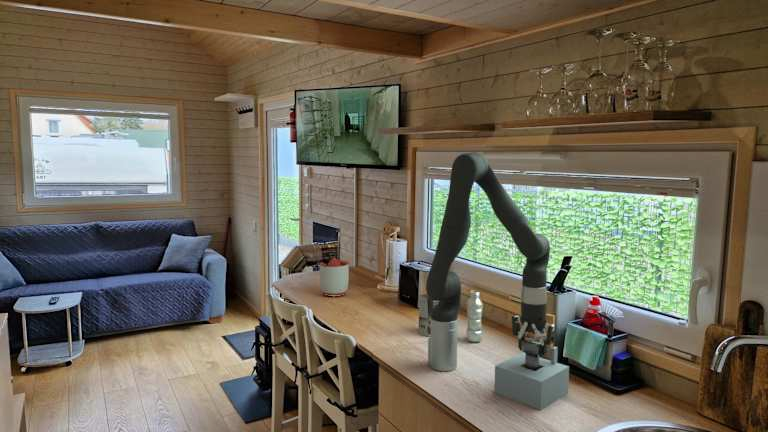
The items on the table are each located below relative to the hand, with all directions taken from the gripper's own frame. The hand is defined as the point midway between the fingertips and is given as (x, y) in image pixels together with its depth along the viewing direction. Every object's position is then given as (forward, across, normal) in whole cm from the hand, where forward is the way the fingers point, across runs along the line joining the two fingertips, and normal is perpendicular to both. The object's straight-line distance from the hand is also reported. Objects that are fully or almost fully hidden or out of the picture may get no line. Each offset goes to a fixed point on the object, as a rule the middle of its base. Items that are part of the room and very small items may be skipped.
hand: (532, 353), depth 162 cm
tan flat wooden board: (-5, 0, +7) cm, 8 cm away
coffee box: (+13, -58, +19) cm, 63 cm away
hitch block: (+13, 0, 0) cm, 13 cm away
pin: (+7, 0, 0) cm, 7 cm away
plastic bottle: (+13, -40, +24) cm, 49 cm away
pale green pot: (+12, -134, +27) cm, 137 cm away
